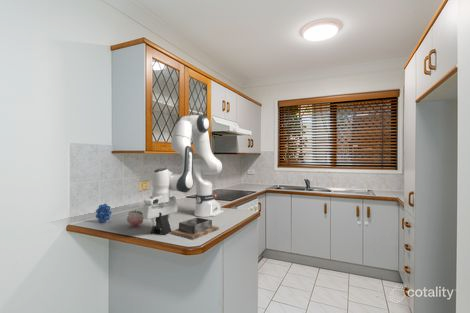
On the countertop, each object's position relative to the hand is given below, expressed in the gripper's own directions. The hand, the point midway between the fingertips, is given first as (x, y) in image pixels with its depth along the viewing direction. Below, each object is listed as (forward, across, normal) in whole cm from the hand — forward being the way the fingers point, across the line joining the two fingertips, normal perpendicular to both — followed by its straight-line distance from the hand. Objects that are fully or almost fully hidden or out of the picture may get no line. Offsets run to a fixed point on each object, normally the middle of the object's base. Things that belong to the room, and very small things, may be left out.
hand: (161, 224), depth 131 cm
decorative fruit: (+5, +1, -22) cm, 23 cm away
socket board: (+5, -12, +14) cm, 19 cm away
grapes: (+5, +7, -46) cm, 47 cm away
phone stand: (+5, 0, 0) cm, 5 cm away
